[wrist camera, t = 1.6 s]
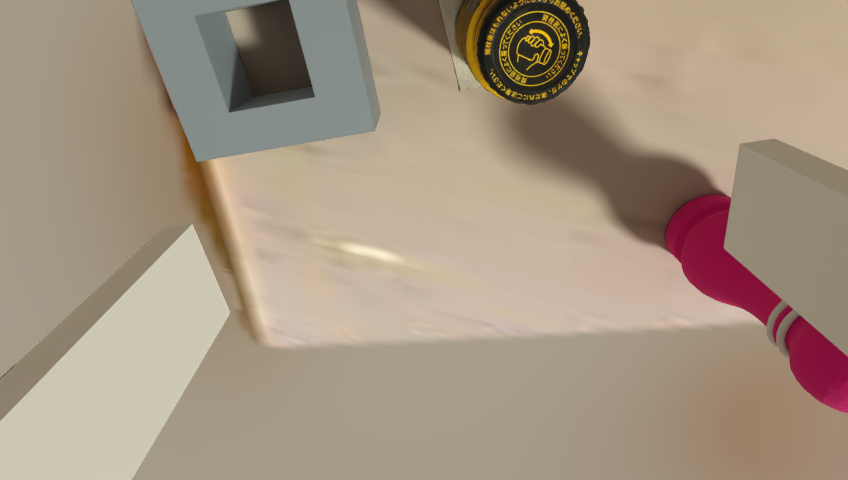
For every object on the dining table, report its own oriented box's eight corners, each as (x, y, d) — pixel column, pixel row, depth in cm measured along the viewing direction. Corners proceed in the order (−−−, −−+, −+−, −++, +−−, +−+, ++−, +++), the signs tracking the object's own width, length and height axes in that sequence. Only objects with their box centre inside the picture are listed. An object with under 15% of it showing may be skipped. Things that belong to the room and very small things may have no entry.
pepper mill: (645, 260, 41) (816, 464, 24) (678, 182, 38) (906, 351, 20) (724, 270, 42) (949, 477, 24) (763, 194, 38) (1057, 370, 21)
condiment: (460, 92, 35) (479, 138, 24) (428, -39, 31) (434, -52, 20) (561, 62, 34) (626, 97, 23) (541, -76, 30) (608, -111, 19)
